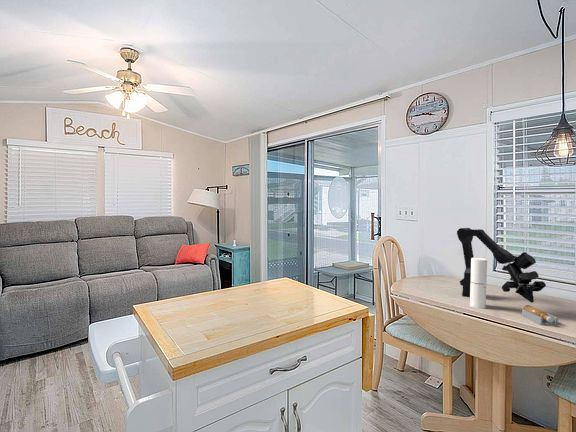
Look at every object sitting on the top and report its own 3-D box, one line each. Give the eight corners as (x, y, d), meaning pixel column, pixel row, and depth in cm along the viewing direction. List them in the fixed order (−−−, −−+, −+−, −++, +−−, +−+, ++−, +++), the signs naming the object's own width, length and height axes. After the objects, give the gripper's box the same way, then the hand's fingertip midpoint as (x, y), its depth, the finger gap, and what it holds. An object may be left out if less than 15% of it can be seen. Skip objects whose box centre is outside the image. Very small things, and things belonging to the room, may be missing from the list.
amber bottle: (521, 311, 157) (544, 322, 143) (525, 303, 156) (548, 313, 143) (530, 315, 157) (553, 326, 143) (533, 306, 157) (557, 316, 143)
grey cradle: (522, 316, 156) (522, 309, 155) (537, 315, 156) (538, 309, 156) (540, 324, 145) (540, 317, 144) (557, 324, 145) (557, 317, 145)
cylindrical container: (466, 304, 173) (468, 257, 172) (479, 303, 174) (480, 257, 173) (475, 308, 166) (477, 260, 165) (488, 308, 167) (490, 260, 166)
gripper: (506, 265, 158) (522, 294, 148) (544, 265, 159) (562, 293, 148) (495, 277, 167) (509, 305, 156) (530, 277, 167) (547, 305, 157)
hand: (532, 302), depth 154 cm, fingers closed
